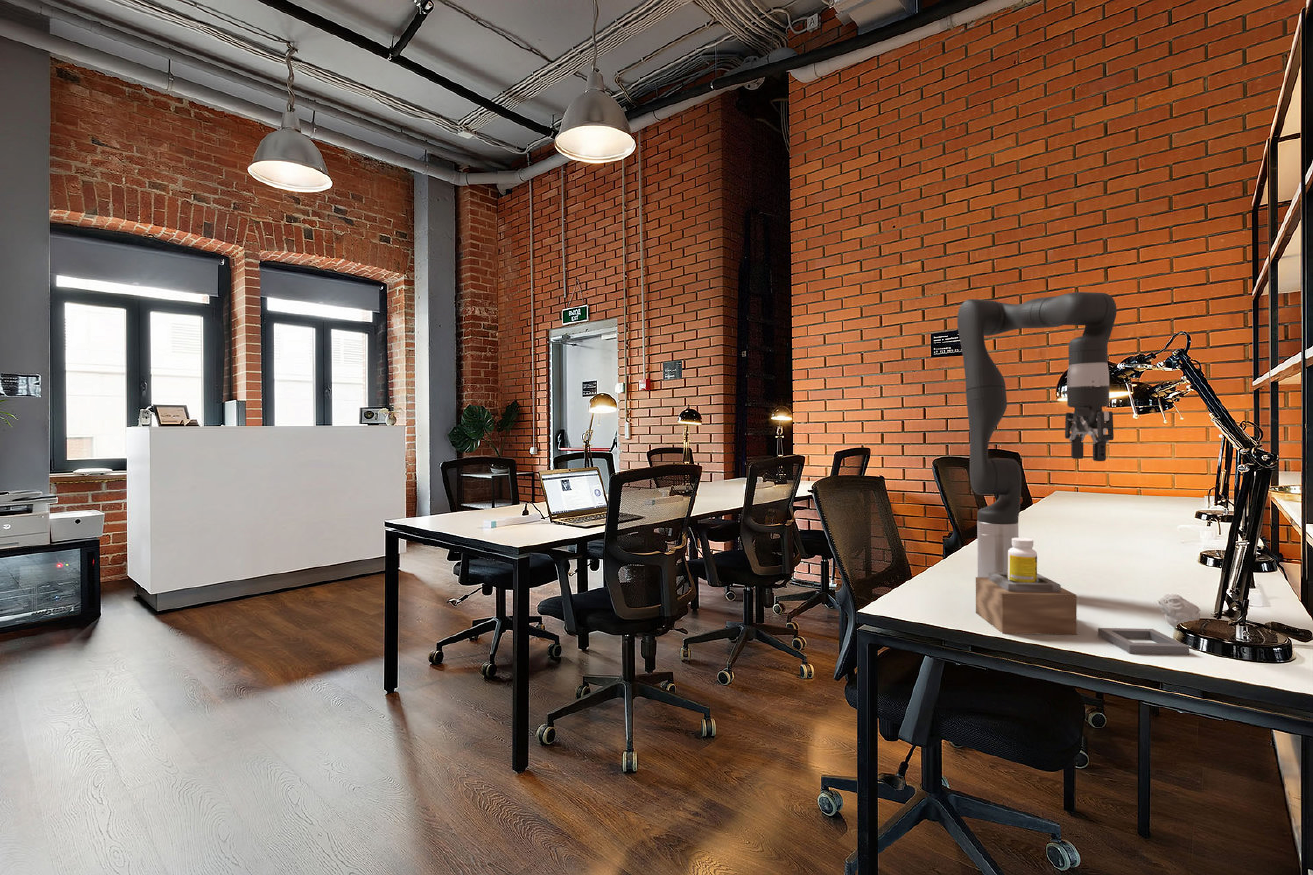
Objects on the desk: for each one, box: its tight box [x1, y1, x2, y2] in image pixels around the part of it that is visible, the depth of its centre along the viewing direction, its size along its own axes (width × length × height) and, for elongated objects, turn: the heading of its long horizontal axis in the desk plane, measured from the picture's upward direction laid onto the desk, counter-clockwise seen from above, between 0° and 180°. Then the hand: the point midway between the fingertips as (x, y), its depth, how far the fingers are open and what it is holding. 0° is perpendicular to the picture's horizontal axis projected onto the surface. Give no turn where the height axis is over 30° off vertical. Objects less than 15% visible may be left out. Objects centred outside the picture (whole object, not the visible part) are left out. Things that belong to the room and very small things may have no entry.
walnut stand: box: [975, 573, 1078, 636], centre depth 134 cm, size 14×14×10 cm
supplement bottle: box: [1008, 537, 1038, 583], centre depth 134 cm, size 5×5×10 cm
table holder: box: [1097, 627, 1190, 656], centre depth 120 cm, size 10×10×2 cm
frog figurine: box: [1157, 593, 1201, 629], centre depth 129 cm, size 6×7×7 cm
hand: (1088, 459), depth 138 cm, fingers open, 8 cm apart
